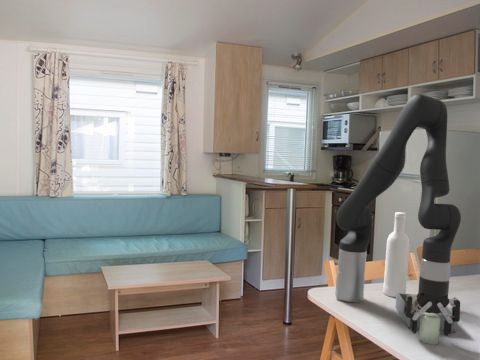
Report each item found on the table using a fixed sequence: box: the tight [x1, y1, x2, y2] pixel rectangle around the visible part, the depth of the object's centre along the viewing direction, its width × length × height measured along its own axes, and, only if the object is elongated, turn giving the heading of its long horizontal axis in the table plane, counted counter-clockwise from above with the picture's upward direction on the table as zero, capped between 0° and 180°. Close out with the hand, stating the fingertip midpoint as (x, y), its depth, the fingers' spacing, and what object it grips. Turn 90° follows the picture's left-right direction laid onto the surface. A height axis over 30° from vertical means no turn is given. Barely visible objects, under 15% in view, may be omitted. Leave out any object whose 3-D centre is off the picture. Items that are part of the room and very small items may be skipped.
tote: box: [395, 293, 457, 334], centre depth 138 cm, size 13×17×5 cm
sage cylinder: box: [418, 312, 441, 345], centre depth 122 cm, size 5×5×7 cm
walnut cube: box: [410, 293, 423, 311], centre depth 142 cm, size 5×5×5 cm
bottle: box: [382, 211, 411, 299], centre depth 160 cm, size 8×8×30 cm
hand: (429, 333), depth 122 cm, fingers open, 8 cm apart
